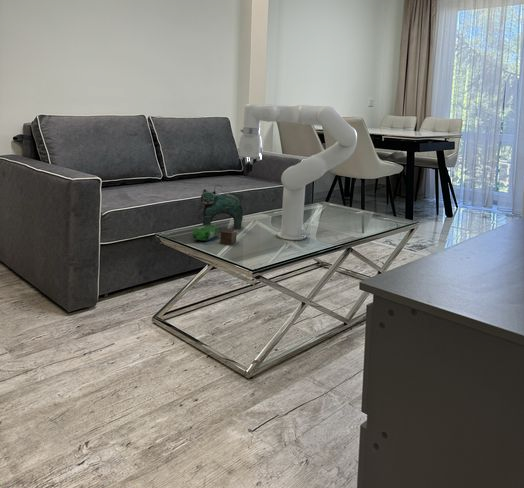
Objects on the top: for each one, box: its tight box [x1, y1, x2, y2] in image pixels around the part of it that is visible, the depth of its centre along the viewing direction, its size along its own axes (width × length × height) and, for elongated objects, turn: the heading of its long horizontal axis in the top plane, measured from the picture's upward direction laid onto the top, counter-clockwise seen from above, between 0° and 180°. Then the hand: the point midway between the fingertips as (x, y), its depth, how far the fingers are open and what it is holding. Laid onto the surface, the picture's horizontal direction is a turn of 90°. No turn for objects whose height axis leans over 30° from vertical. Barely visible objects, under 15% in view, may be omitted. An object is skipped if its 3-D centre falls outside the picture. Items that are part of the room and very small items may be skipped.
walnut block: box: [219, 228, 238, 246], centre depth 205 cm, size 5×5×5 cm
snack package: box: [192, 224, 220, 242], centre depth 209 cm, size 7×16×5 cm, turn 160°
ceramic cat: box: [200, 184, 244, 229], centre depth 231 cm, size 20×6×20 cm, turn 99°
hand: (249, 172), depth 223 cm, fingers closed
